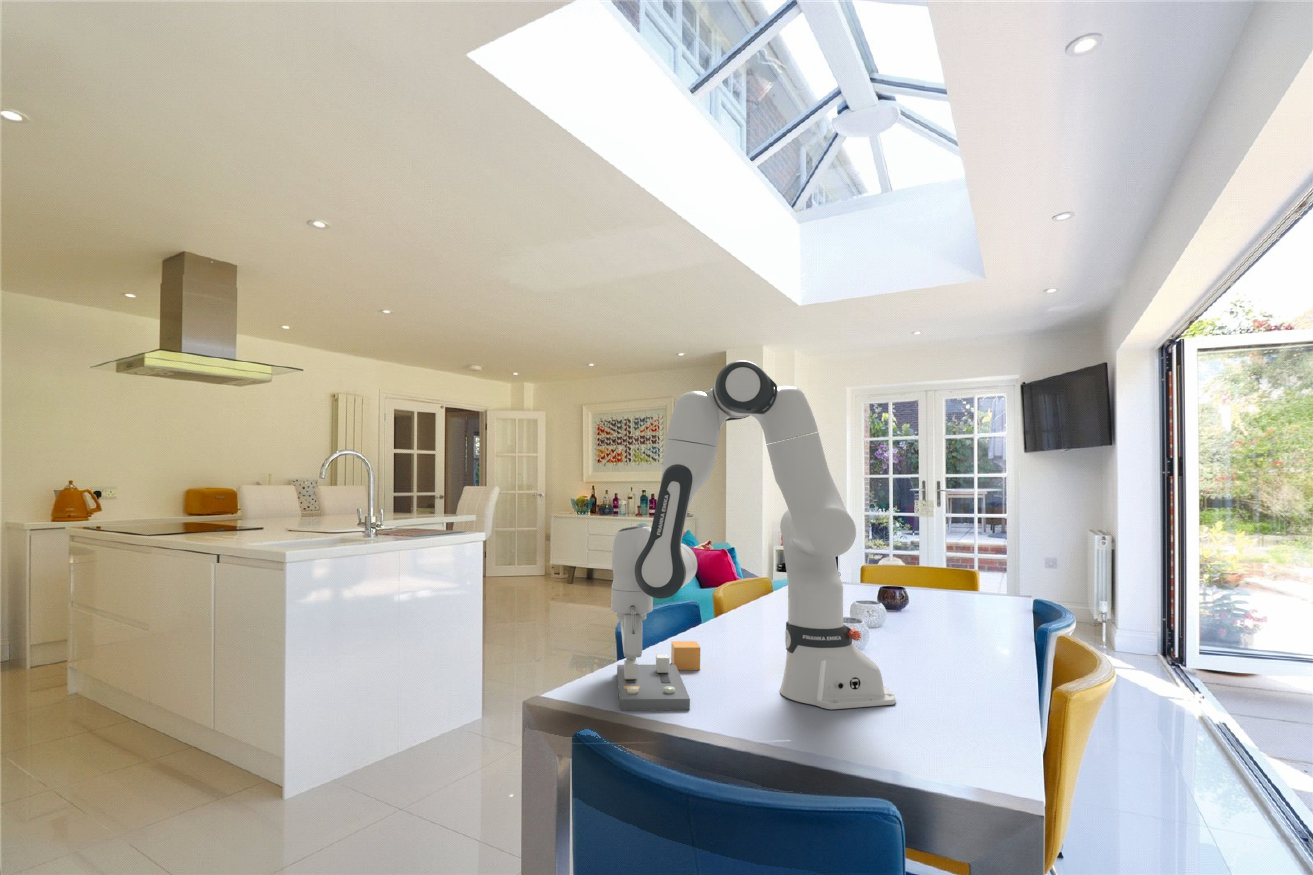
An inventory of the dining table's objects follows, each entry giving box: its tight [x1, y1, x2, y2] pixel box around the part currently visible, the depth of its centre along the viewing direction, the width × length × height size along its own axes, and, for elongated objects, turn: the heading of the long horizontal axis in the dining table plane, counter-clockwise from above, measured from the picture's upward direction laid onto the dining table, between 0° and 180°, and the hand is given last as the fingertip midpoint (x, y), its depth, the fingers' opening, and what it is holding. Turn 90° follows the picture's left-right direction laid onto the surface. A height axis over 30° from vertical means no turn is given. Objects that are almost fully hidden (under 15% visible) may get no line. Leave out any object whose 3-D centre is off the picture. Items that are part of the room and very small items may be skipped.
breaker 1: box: [623, 659, 639, 679], centre depth 134 cm, size 3×3×3 cm
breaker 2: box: [655, 653, 670, 673], centre depth 139 cm, size 3×3×3 cm
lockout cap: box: [670, 640, 701, 671], centre depth 152 cm, size 6×6×5 cm
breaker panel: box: [616, 664, 691, 711], centre depth 133 cm, size 13×24×3 cm, turn 5°
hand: (630, 669), depth 137 cm, fingers closed
